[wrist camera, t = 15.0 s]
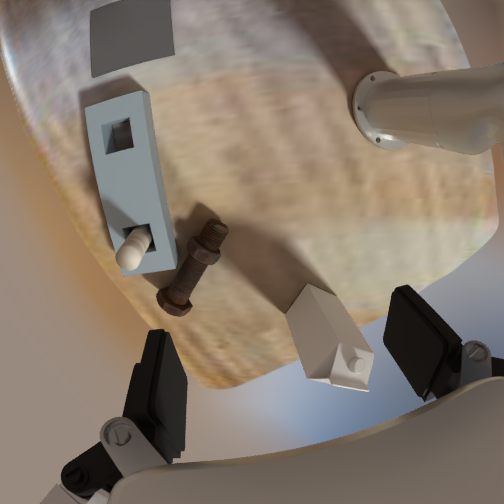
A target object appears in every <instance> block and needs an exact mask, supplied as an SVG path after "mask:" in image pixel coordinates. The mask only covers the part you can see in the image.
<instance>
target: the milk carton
mask: <svg viewBox="0 0 504 504" xmlns="http://www.w3.org/2000/svg"><path fill="white" fill-rule="evenodd" d="M285 317H286V320H287V323H288V326H289V328H290V331H291V334H292V337H293V340H294V343H295V346H296V348H297V351H298V354H299V357H300V360H301V363H302V366H303V369H304V371H305V374H306V377H307V379H310V380H314V381H319V382H324V383H328V384H331V385H333V386H339V387H344V388H349V389H355V390H361V391H367V392H369V389H368V387H367V383H368V379H369V375H370V371H371V367H372V363H373V358H374V353H373V351H372V350H371V348H370V346H369V345H368V343H367V341H366V340H365V338H364V337H363V335H362V333H361V332H360V330H359V329H358V327H357V326H356V324H355V322H354V321H353V319H352V318H351V316H350V315H349V313H348V312H347V310H346V309H345V307H344V305H343V304H342V302H341V301H340V299H339V298H338V297H337V296H335V295H332V294H330V293H328V292H326V291H324V290H322V289H319V288H317V287H315V286H313V285H311V284H308V283H307V285H306V286H305V287H304V289H303V290H302V292H301V293H300V295H299V296H298V297H297V299H296V300H295V302H294V303H293V304H292V306H291V307H290V309H289V310H288V311H287V313H286V314H285Z"/></svg>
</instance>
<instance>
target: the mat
mask: <svg viewBox="0 0 504 504" xmlns="http://www.w3.org/2000/svg"><path fill="white" fill-rule="evenodd" d="M172 55H175V53H174V43H173V32H172V20H171V7H170V0H122V1H118V2H115V3H113V4H110V5H107V6H104V7H101V8H99V9H96V10H94V11H91V64H92V78H95V77H97V76H100V75H103V74H106V73H109V72H112V71H115V70H118V69H121V68H125V67H128V66H132V65H135V64H139V63H142V62H146V61H150V60H154V59H158V58H163V57H167V56H172Z"/></svg>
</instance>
